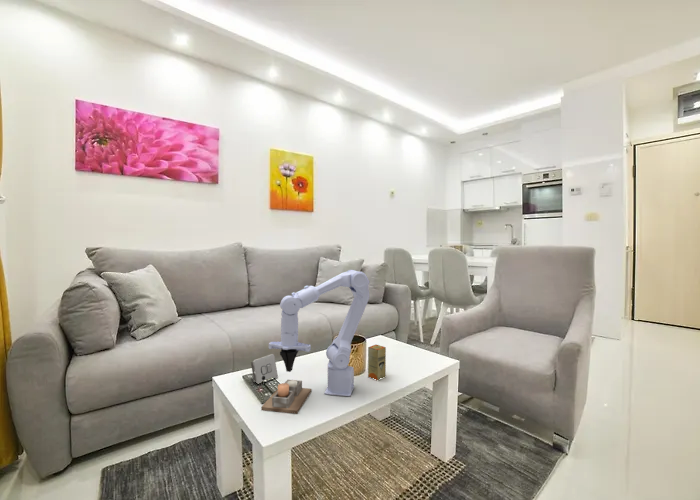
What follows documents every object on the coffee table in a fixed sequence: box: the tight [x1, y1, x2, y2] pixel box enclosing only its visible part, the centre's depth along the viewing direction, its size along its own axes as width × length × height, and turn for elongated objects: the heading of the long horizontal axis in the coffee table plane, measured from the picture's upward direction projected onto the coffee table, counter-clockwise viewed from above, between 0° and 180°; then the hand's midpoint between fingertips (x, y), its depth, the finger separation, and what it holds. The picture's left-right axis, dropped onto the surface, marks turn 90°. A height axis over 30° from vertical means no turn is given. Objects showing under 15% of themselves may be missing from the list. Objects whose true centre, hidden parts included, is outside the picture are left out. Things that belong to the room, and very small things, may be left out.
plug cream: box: [287, 379, 297, 387], centre depth 109 cm, size 4×4×3 cm
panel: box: [260, 379, 312, 415], centre depth 105 cm, size 12×15×4 cm
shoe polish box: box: [367, 344, 387, 381], centre depth 124 cm, size 5×5×12 cm
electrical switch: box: [250, 353, 279, 384], centre depth 121 cm, size 9×5×9 cm, turn 141°
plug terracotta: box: [277, 382, 289, 397], centre depth 101 cm, size 4×4×3 cm
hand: (289, 370), depth 107 cm, fingers closed
